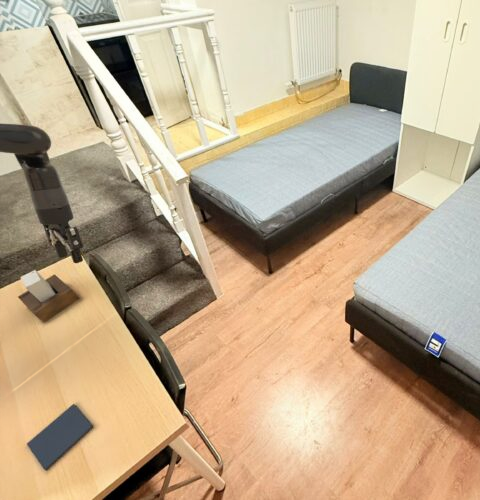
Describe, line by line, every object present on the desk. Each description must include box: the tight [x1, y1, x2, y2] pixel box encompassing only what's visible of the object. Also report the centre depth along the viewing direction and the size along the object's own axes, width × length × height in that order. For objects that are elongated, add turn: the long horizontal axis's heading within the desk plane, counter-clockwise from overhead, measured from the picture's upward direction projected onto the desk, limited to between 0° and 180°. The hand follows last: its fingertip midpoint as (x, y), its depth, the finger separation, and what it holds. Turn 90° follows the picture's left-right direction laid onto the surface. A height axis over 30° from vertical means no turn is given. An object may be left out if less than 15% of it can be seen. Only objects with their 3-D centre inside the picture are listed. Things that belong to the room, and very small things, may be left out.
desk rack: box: [17, 273, 80, 324], centre depth 106 cm, size 11×11×5 cm
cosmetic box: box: [20, 269, 57, 304], centre depth 104 cm, size 6×4×12 cm
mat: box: [26, 403, 94, 471], centre depth 79 cm, size 11×9×1 cm
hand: (70, 259), depth 96 cm, fingers open, 8 cm apart
